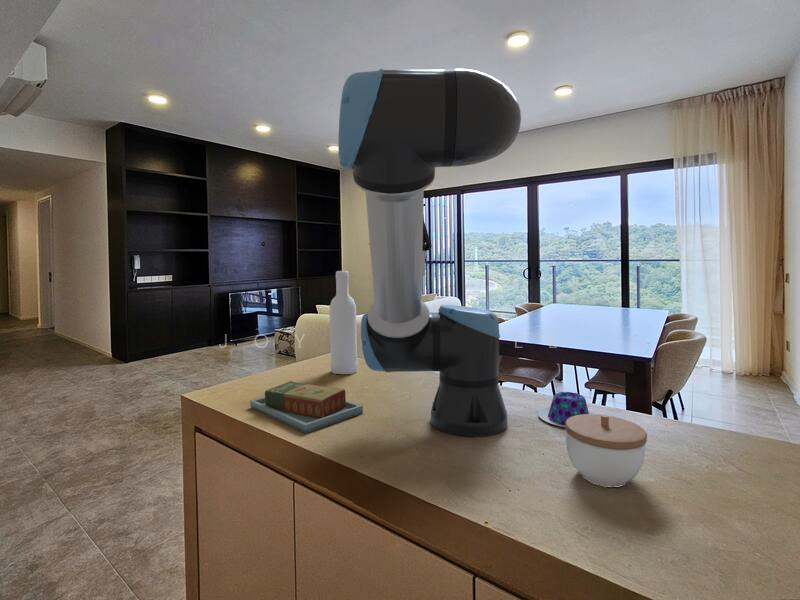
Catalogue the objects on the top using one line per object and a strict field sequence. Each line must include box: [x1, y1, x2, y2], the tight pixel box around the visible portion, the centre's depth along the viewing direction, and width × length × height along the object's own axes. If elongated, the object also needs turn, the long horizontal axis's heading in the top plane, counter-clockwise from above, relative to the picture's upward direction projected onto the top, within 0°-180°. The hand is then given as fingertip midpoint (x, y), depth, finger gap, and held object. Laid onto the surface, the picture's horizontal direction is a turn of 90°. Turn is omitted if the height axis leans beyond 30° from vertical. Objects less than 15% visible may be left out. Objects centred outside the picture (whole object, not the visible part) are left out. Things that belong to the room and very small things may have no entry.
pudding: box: [537, 391, 594, 428], centre depth 85 cm, size 12×12×5 cm
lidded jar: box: [564, 413, 648, 487], centre depth 61 cm, size 11×11×9 cm
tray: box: [249, 396, 364, 434], centre depth 91 cm, size 22×14×2 cm
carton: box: [264, 380, 347, 418], centre depth 91 cm, size 8×16×4 cm, turn 62°
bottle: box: [329, 270, 358, 375], centre depth 123 cm, size 8×8×30 cm
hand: (402, 276), depth 104 cm, fingers open, 13 cm apart
